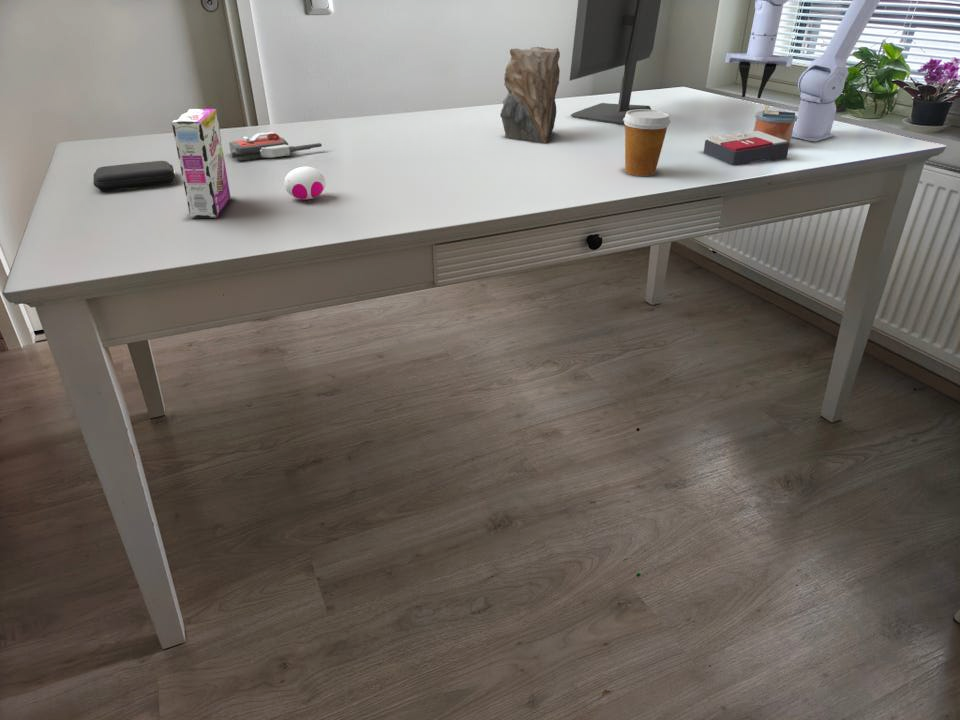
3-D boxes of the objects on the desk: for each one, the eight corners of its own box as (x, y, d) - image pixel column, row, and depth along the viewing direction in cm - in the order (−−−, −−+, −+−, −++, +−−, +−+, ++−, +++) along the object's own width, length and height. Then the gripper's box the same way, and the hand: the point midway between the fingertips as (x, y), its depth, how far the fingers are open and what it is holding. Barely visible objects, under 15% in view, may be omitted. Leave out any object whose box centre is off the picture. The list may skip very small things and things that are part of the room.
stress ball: (291, 220, 131) (290, 198, 126) (282, 186, 134) (280, 163, 128) (331, 213, 134) (331, 191, 128) (321, 180, 137) (321, 157, 131)
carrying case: (173, 170, 146) (95, 179, 141) (170, 156, 145) (91, 164, 139) (178, 185, 138) (95, 194, 133) (175, 169, 137) (91, 178, 131)
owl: (498, 137, 173) (500, 49, 163) (518, 126, 183) (522, 43, 172) (545, 143, 168) (551, 53, 158) (564, 132, 178) (570, 47, 168)
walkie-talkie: (236, 164, 151) (324, 152, 160) (232, 144, 148) (322, 132, 158) (224, 155, 157) (310, 143, 166) (221, 135, 155) (307, 124, 164)
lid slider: (764, 114, 167) (765, 106, 166) (764, 112, 169) (766, 104, 168) (778, 115, 166) (780, 107, 165) (778, 113, 168) (780, 105, 167)
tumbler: (749, 146, 168) (755, 115, 164) (750, 137, 176) (756, 107, 172) (790, 150, 165) (798, 118, 162) (790, 141, 173) (797, 110, 169)
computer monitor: (619, 99, 214) (636, -53, 193) (669, 106, 206) (692, -51, 185) (545, 126, 184) (555, -51, 163) (601, 135, 176) (619, -49, 155)
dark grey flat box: (704, 136, 161) (758, 128, 165) (702, 155, 163) (755, 146, 167) (735, 148, 152) (791, 139, 156) (732, 168, 155) (787, 158, 159)
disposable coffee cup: (636, 181, 144) (644, 120, 137) (608, 169, 151) (614, 111, 145) (672, 175, 147) (681, 116, 141) (643, 163, 155) (651, 107, 148)
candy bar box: (219, 218, 123) (200, 122, 114) (189, 219, 122) (169, 122, 114) (232, 197, 132) (216, 107, 124) (205, 198, 132) (187, 107, 123)
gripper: (729, 34, 159) (718, 97, 166) (797, 38, 155) (783, 102, 162) (731, 31, 164) (720, 92, 172) (797, 34, 160) (783, 97, 167)
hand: (751, 97), depth 167 cm, fingers open, 3 cm apart
